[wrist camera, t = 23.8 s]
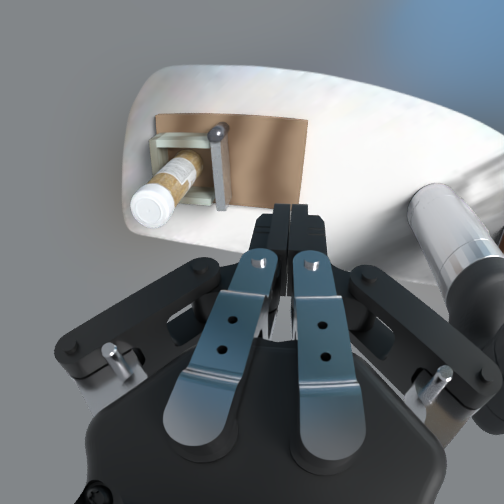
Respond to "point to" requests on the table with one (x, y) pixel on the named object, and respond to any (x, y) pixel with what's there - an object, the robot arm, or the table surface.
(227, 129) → the bar
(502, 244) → the food container
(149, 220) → the tan spice jar
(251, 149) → the cradle board
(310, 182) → the table surface
